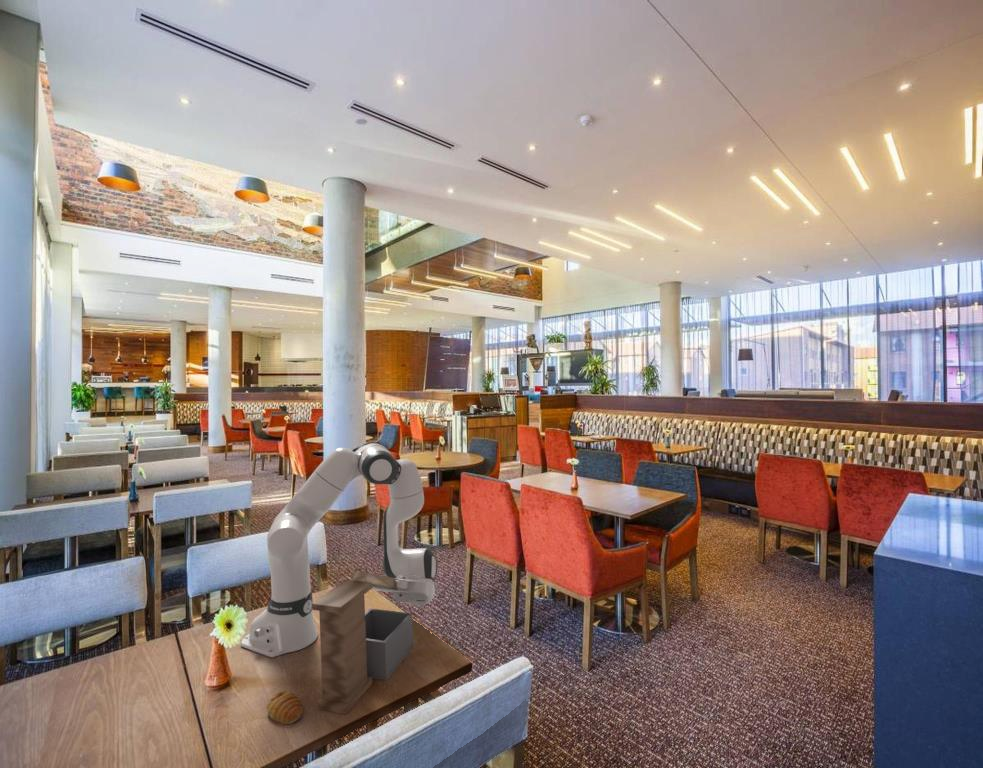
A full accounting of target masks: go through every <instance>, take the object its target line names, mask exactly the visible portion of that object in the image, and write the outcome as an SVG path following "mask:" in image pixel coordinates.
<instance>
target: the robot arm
mask: <svg viewBox="0 0 983 768" xmlns="http://www.w3.org/2000/svg"><path fill="white" fill-rule="evenodd" d="M360 476H362V477H363V478H364V479H365V481H366V482H368V483H370V484H372V485H387V487H388V491H389V493H388V494H389V498H390V500H389V506H387V507H386V508H385V511H384V514H383V530H382V531H383V556H382V571H383V573H384V576H386V577H390V578H395V579H400V580H395V581H394V587H398V590H392V589H383V588H377V587H372V589H371V590H374V591H379V592H387V593H392V597H393V598H394V599H395V600H396V601H397V602H399V603H403V604H408V605H412V606H418V607H419V606H421V607H422V606H425V605H427V604H429V603H430V602H431V601H432V600H433V598H434V597H435V594H436V593H435V592H436V588H435V585H434V581H435V578H436V577H437V573H438V572H437V571H438V560H437V557H436V555H435V554H434V552H433V551H432V550H431V549H430V548H427V547H426V548H424V547H423V548H421V547H420V548H419V547H417V548H402V547H400V546H399V525H400V524H402V523H404V522H406V521H408V520H411V519H412V518H414V517H415V516H416V515H418V514H419V512H420V511H422V508H423V507H424V504H425V494H424V488H423V483H422V478H421V475H420V472H419V470H418V467H417V464H416V463H415V462H414V460H412V459H408V458H400V459H396V458H395V457H394V456H393V455H392V454H391V451H390V450H389V449H388V448H386V447H385V446H384V445H383V444H381V443H379V442H377V441H371V442H367V443H364V444H362V445H360V446H357V447H356V448H353V449H352V450H351V449H349V448H347V447H337V448H335V449H334V450H333V451H331V453H329V454H328V455H327V456H326V457H325V458H324V459H323V460H322V461H321V462H320V464H319V465H318V466H317V467H316V469H315V470H313V472H312V473H311V475H310V476H309V477H308V479H307V480H306V481H305V483H303V485H302V486H301V487H300V488H299V490H298V491H297V492H296V493H295V494H294V496H293V497H291V499H289V501H288V502H287V503H286V505H285V506H284V507H283V508H282V509H281V511H280V512H279V513H278V514H277V515H276V517H275V518H274V520H273V522H272V524H271V526H270V528H269V530H268V533H267V536H266V547H267V557H268V565H269V569H270V583H271V585H270V586H271V587H270V588H271V589H270V590H271V595H270V596H269V597H267V599H265V600H264V605H266V604H268V605H267V608H266V609H264V610H263V611H262V612H261V613H260V614H259V615H257V616H256V617H255V618H254V619H253V620H252V622H251V623H250V626H249V633H248V634H246V635H245V636H244V637H243V638H242V640H241V641H240V646H241V647H242V648H245V649H248V650H250V651H253V652H255V653H258V654H261V655H264V656H266V657H269V658H275V657H278V656H281V655H283V654H287V653H292V652H297V651H299V650H302V649H304V648H306V647H308V646H310V645H311V644H313V643H314V642H315V641H316V640H317V638H318V636H319V634H318V630H317V627H316V622H315V618H314V614H313V613H314V612H313V610H312V603H314V602H313V601H314V600H313V590H312V589H311V569H310V568H311V566H310V556H309V546H308V545H309V543H308V539H309V538H308V535H309V534H310V532H311V530H312V528H313V527H315V525H316V524H317V523H318V522H319V520H321V519H322V518H323V516H324V515H325V514H327V513H328V512H329V511H330V509H331V508H332V507H333V505H334V504H335V503H336V502H337V500H338V499H339V498H340V496H341V495H342V494H343V492H344V491H345V490H346V488H347V487H348V486H349V484H351V482H352V481H353V480H354V479H356V478H357V477H360Z"/></svg>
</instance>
